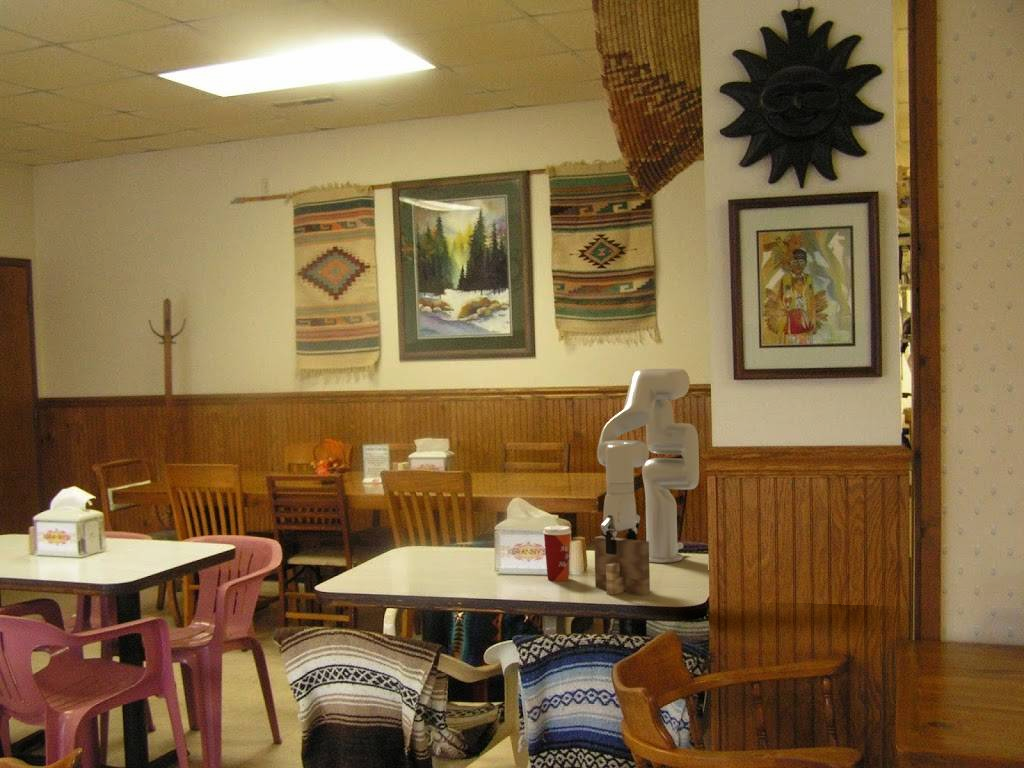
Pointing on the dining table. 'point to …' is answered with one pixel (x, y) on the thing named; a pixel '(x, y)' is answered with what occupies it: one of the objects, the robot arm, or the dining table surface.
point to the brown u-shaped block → (614, 579)
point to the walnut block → (624, 563)
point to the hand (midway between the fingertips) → (621, 550)
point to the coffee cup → (557, 552)
